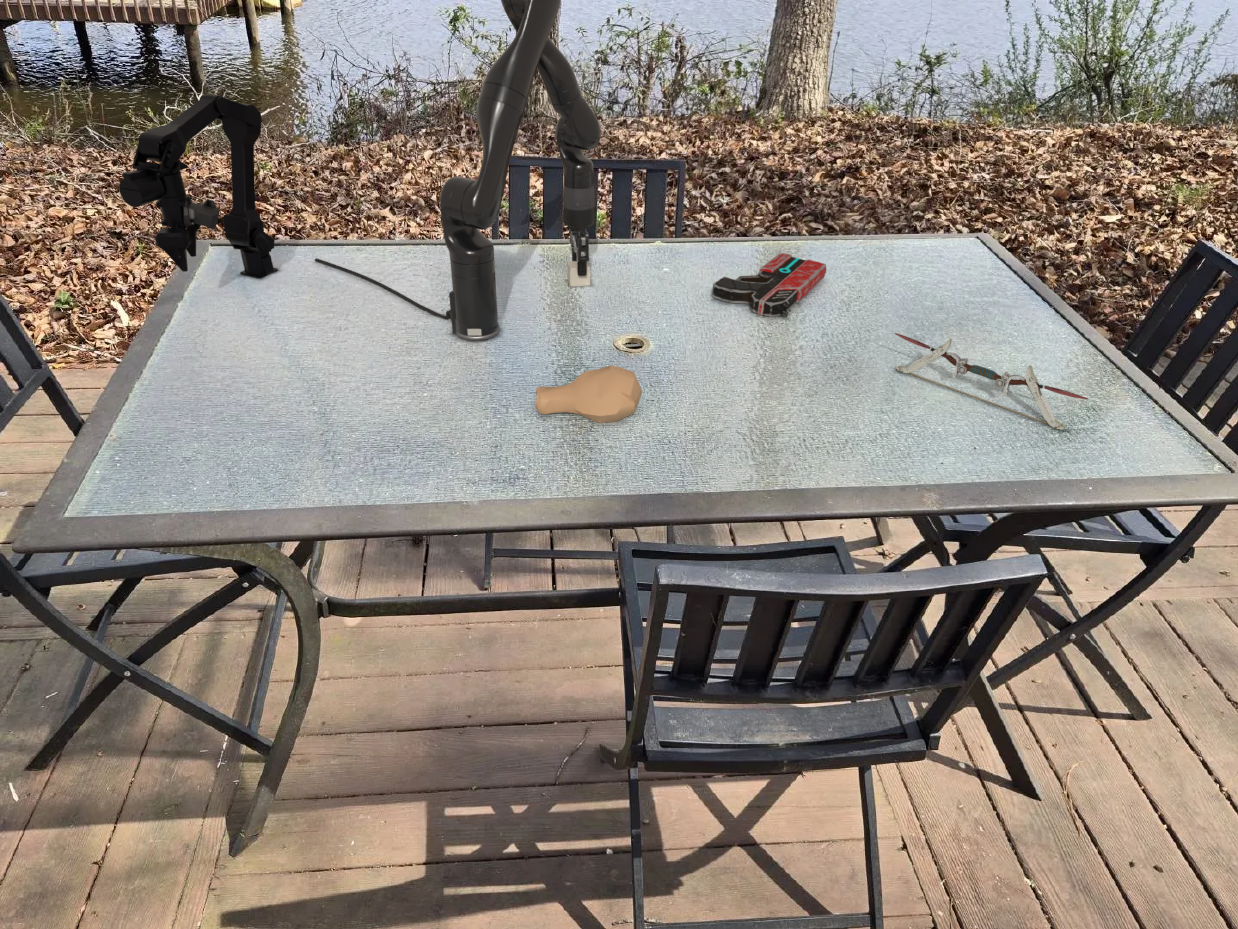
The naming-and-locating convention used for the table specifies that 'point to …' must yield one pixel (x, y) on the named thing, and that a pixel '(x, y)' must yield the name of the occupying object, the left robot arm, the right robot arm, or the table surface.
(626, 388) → the squash
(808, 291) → the gun
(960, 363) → the bow
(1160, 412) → the table surface
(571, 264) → the beige cube
